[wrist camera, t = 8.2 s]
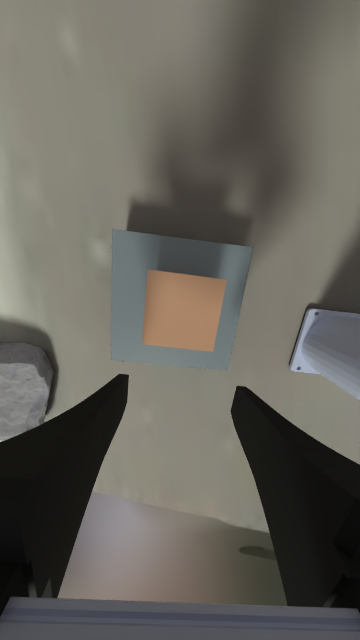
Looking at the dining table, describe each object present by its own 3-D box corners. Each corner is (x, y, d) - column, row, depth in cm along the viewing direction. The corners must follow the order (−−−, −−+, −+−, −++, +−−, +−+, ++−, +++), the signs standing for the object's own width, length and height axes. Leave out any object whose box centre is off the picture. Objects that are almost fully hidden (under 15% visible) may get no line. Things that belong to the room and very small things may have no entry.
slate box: (237, 253, 18) (253, 247, 14) (218, 353, 21) (227, 370, 17) (126, 239, 18) (112, 228, 14) (123, 344, 21) (110, 359, 17)
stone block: (61, 338, 22) (-37, 335, 19) (40, 357, 17) (-91, 356, 15) (66, 410, 25) (-16, 415, 23) (50, 442, 21) (-55, 452, 18)
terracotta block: (212, 278, 15) (226, 279, 10) (203, 331, 16) (213, 351, 12) (156, 271, 15) (147, 269, 10) (151, 325, 16) (142, 344, 11)
